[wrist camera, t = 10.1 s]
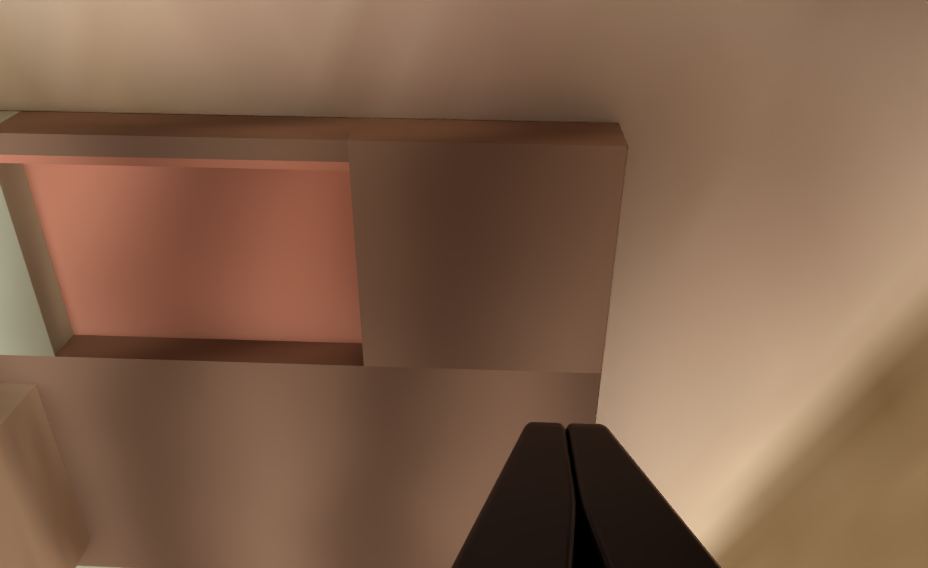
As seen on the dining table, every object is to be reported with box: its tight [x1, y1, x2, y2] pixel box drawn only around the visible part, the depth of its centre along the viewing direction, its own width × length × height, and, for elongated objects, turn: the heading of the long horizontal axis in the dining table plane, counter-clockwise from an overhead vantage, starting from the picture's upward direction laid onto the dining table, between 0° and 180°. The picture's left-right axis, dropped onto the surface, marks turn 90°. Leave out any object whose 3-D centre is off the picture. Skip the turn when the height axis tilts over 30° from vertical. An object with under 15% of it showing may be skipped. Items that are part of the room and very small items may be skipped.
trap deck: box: [0, 111, 628, 568], centre depth 22 cm, size 23×20×3 cm
